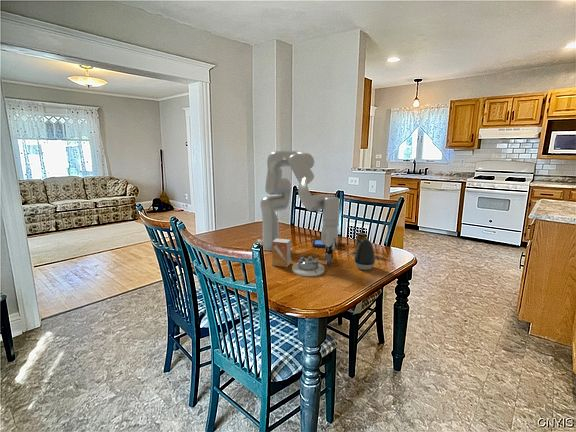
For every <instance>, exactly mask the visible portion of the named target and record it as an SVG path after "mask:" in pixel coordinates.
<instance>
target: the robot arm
mask: <svg viewBox="0 0 576 432" xmlns="http://www.w3.org/2000/svg"><path fill="white" fill-rule="evenodd" d="M266 165H267V168H266V169H267V172H266V180H265V187H264V188H265V193H266V194H268V196H265V197H263V198H262V199H261V201H260V211H261V214H262V215H261V218H262V220H261V221H262V224H261V225H262V239H257V240H256V243H257V244H258V243H261V244H262V245H263V246H264V250H263V251H269V252H270V251H272V243H273V241H274V240H275V239H279V217H278V215H277V212H282V211H285V210H287V209H288V206H289V203H290V198H291V191H292V184H291V182H290V179H288V178H286V177H282V176H283V170H282V168H283V167H284V168H285V167H289V168H290V169H291V171H292V172H293V174H294V176H295V179H297V181H298V183H299V184H298V189H297V190H298V198H299V199H300V202H301V203H302V205H303V207H304V208H305V209H306V211H310V212H314V211H321V210H322V228H321V235H320V236H321V237H320V239H321V242H322V243H323V244H324V245H325V248H324V249H325V256H324V257H325V259H326V254H327V253H331V254H332V255H331V260H333V257H334V250H336V247H337V246H338V240H339V239H338V238H339V237H338V234H339V232H338V227H339V215H340V214H339V213H340V198H339V197H337V196H330V195H328V194H326V193H325V194H313V195H312V194H311V192H310V190H309V186H308V184H310V183H312V182H313V180H314V178H315V174H314V173H313V171H312V168H313V167H314V165H315V160H314V156H312V154H310V153H308V152H303V151H302V152H301V151H297V150H276V151H275V150H274V151H272V152H270V153H269V155H268V156H267V160H266ZM281 167H282V168H281ZM261 244H260V245H261Z"/></svg>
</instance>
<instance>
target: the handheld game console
mask: <svg viewBox="0 0 576 432" xmlns="http://www.w3.org/2000/svg"><path fill="white" fill-rule="evenodd" d="M312 248H316V249H318V248H319V249H325V245H324V244H323V243H322V242H321V238H314V239H312Z"/></svg>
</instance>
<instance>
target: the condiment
mask: <svg viewBox="0 0 576 432" xmlns="http://www.w3.org/2000/svg"><path fill="white" fill-rule="evenodd" d="M367 236H368V235H367V233H364V232H359V233H356V239H355V251H354V252H350V255H353V256H355V253H356V250H357V247H358V245H359V242H358V241H357V239H359V240H361V241H362V240H363V239H368V238H367Z"/></svg>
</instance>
